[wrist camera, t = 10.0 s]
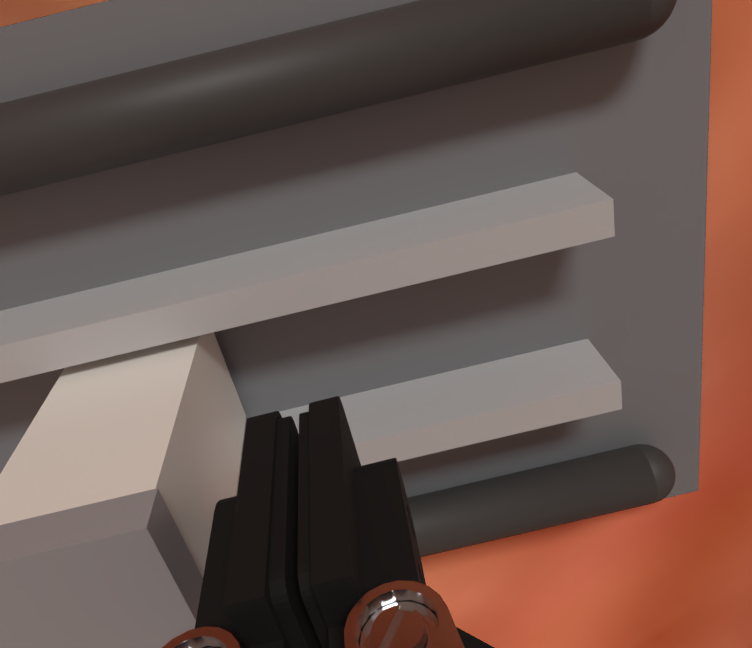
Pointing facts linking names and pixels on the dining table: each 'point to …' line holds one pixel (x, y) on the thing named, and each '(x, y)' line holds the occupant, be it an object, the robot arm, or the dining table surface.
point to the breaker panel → (380, 230)
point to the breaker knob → (118, 499)
